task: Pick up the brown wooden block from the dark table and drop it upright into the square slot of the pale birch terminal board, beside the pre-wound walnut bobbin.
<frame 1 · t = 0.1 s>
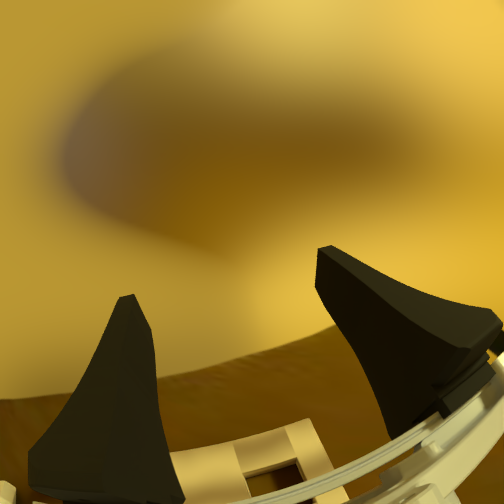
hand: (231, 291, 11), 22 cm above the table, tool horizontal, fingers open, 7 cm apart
terminal board: (236, 503, 18), on the table
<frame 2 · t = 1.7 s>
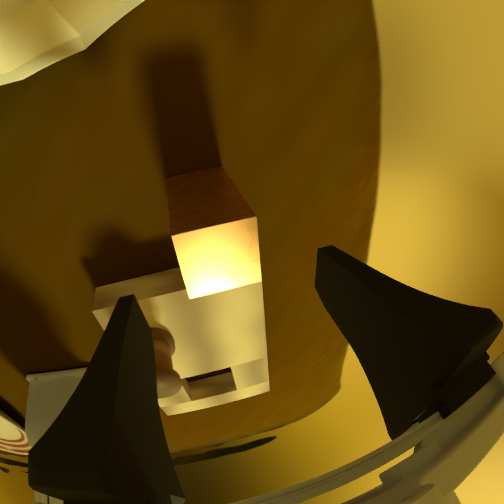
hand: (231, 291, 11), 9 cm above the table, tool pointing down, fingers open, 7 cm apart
brown wooden block: (198, 196, 18), on the table
terminal board: (196, 343, 26), on the table
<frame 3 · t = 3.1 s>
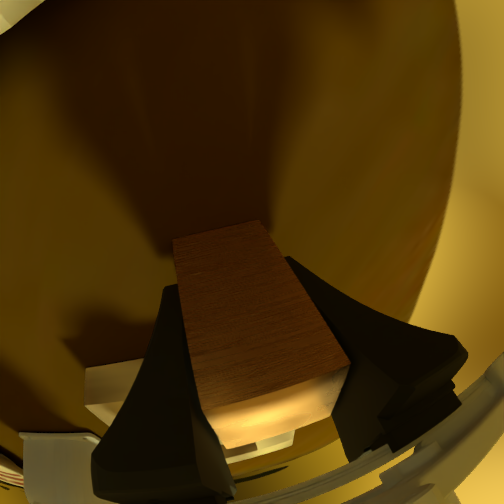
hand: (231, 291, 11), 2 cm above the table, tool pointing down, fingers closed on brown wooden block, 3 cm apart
brown wooden block: (221, 264, 12), on the table, touching gripper
terminal board: (212, 412, 20), on the table
when the fingers open (3 cm above the table, at t = 6.9 s): brown wooden block drops 1 cm, resting in terminal board.
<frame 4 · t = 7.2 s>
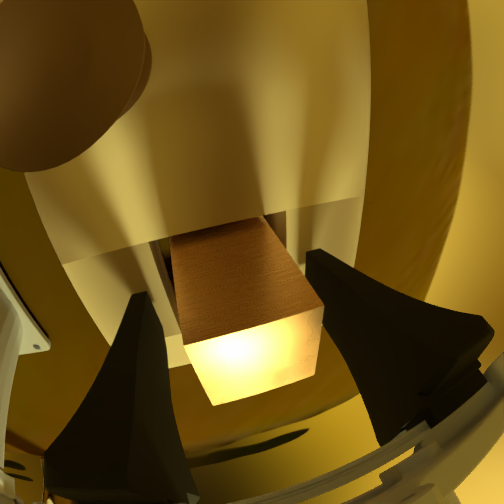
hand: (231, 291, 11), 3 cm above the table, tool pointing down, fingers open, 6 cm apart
brown wooden block: (213, 236, 13), resting in terminal board
terminal board: (201, 163, 11), on the table
beer glass: (59, 461, 26), on the table
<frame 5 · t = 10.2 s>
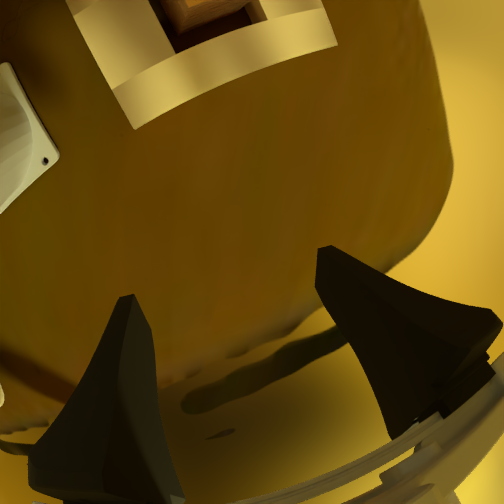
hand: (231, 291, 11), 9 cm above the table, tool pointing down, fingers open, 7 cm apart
brown wooden block: (194, 1, 11), resting in terminal board
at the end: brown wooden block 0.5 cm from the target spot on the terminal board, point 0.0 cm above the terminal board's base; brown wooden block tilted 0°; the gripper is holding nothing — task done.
